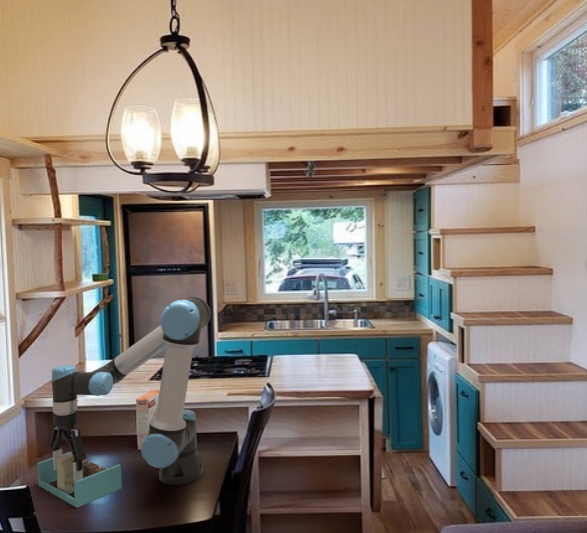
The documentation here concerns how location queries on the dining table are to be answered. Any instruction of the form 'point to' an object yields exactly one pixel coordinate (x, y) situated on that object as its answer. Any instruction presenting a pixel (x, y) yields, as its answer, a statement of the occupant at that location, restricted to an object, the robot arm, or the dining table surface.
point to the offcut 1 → (84, 464)
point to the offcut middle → (89, 469)
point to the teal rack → (81, 483)
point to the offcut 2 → (99, 470)
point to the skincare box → (65, 473)
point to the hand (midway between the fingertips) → (68, 474)
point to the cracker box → (145, 414)
